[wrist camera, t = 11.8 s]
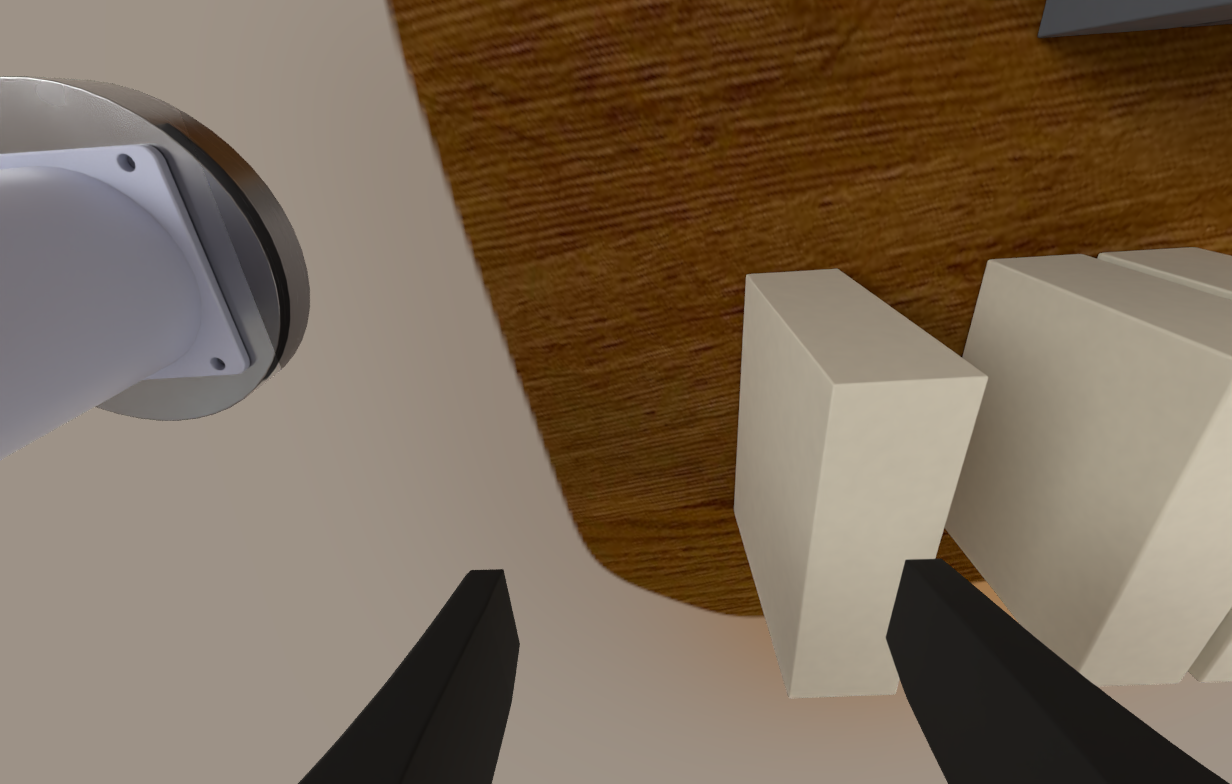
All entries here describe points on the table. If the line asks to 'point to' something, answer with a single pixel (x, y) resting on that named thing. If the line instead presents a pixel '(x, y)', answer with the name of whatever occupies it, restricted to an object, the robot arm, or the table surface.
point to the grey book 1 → (1127, 15)
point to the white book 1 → (842, 469)
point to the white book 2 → (1101, 463)
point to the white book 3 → (1226, 277)
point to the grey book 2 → (1212, 23)
